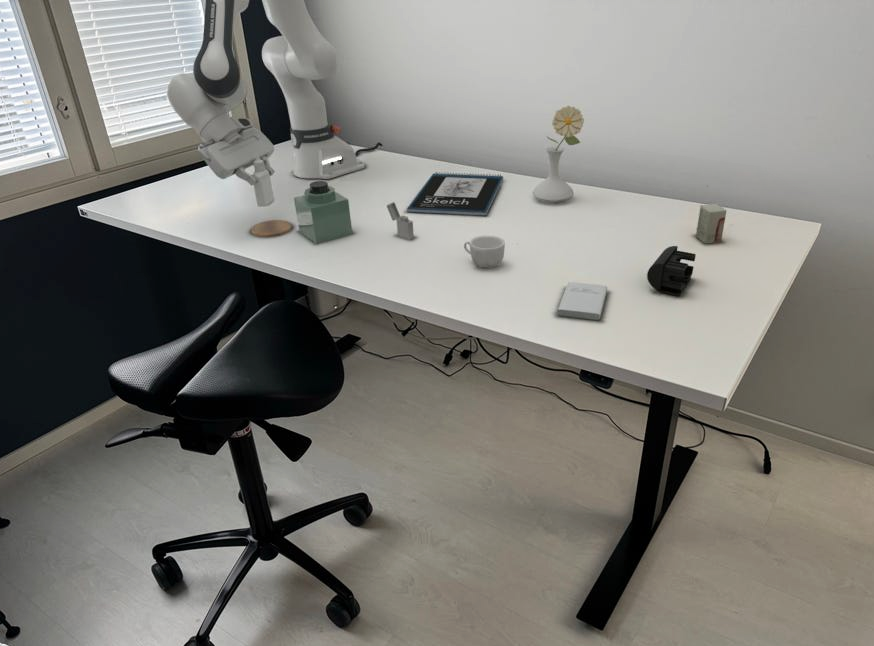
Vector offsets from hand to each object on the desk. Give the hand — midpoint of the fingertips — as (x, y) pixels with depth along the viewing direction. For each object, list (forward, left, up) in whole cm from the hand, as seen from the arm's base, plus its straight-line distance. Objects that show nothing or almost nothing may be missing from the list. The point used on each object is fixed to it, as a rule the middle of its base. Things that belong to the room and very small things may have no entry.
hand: (263, 178), depth 167 cm
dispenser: (-10, +10, -13) cm, 20 cm away
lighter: (-24, +24, -14) cm, 37 cm away
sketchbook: (-52, +9, -14) cm, 54 cm away
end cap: (-54, +83, -14) cm, 100 cm away
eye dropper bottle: (0, -1, -7) cm, 7 cm away
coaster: (0, -1, -13) cm, 13 cm away
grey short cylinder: (-10, +10, -3) cm, 15 cm away
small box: (-80, +73, -14) cm, 109 cm away
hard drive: (-34, +78, -14) cm, 87 cm away
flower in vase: (-71, +29, -14) cm, 78 cm away
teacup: (-30, +50, -14) cm, 60 cm away
